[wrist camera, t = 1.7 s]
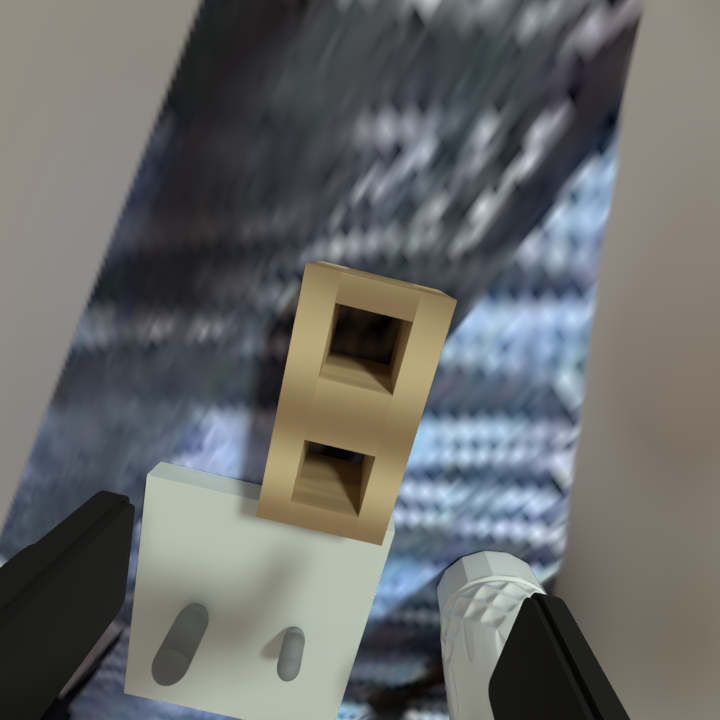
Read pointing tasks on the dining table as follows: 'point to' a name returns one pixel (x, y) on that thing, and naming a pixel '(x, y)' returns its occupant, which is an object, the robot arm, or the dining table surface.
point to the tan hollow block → (350, 404)
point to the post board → (244, 603)
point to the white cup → (478, 624)
